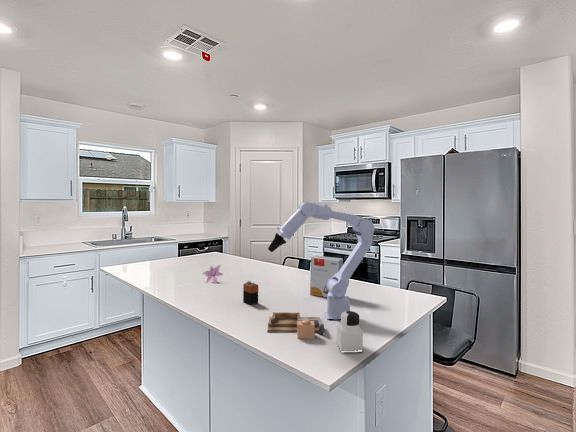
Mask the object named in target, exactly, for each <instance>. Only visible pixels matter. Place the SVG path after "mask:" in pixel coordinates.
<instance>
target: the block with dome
mask: <svg viewBox="0 0 576 432" xmlns="http://www.w3.org/2000/svg"><path fill="white" fill-rule="evenodd" d="M314 330H315V325H314V321H309V320H302V321H297V332H296V335H297V339H298V338H314V339H315V332H314Z"/></svg>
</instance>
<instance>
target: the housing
mask: <svg viewBox="0 0 576 432" xmlns="http://www.w3.org/2000/svg"><path fill="white" fill-rule="evenodd" d="M268 317H269V318H268V323H267V333H297V321H298V319H321V317H319V316H316V317H315V316H301V313H300V312H289V311H288V312H286V311H285V312H283V311H282V312H279V311H278V312H277V311H276V312H275V311H273V312H272V316H268ZM314 325H315V330H314V333H319V324H314Z"/></svg>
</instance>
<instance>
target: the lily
mask: <svg viewBox="0 0 576 432" xmlns="http://www.w3.org/2000/svg"><path fill="white" fill-rule="evenodd" d="M221 266H222V264H219V265H216V266H212V265H210V267H209V270H207V271H203V272H202V275H203V276H206V277H207V278H206V282H205V283H209V282H210V281H212V282H213V283H214V284H217V283H218V277H221V276H223V275H224V274H223V272H220V270H221Z"/></svg>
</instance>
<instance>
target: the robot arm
mask: <svg viewBox="0 0 576 432" xmlns="http://www.w3.org/2000/svg"><path fill="white" fill-rule="evenodd" d="M311 217H312V219H313V218H314V219H318V220H322V221H329V220H330V219H334V220H339V221H343V222H347V224H348V225H349V226H351V228H352V230H353V232H354V233H355V236H356V238H357V243H356V245H355V247H354V248H353V249H352V251H351V252H350V254H349V255H348V258H347V259H346V260H345V262H343V266H342V268H341V269H340V271H339V272H338V273H336V274H335V275H334V276H333V277H332V278H331V279H329V280H328V281H327V283H326V287H327V290H328V291H329V292H328V294H327V297H326V312H324V314H325V317H326V320H328V319H341V313H342V312H345V311H351V301H350V300H351V299H350V297H349V296H348V295H346V294H347V289H348V287H349V284H350V279H351V277H352V276H353V274H354V272H355V271H356V269H357V268H358V267H359V265H360V263H361V262H362V260H363V259H364V257H365V256H366V255H367V253H368V252H369V250H370V248H371V247H372V244H373V239H374V232H375V230H376V229H375V225H374V223H373V222H372V220H370V219H368V218H364V217H362V216H359V215H357V214H356V215H355V214H353V213H352V214H351V213H347V212H341V211H334V210H333V209H332V208H331V207H330V206H328V204H323V205H321V204H318V203H316V202H308V201H307V202H302V203H301V204H299V206H298V209H297V210H296V211H295V212H293V214H292V215H291V216H290V217H289V218H288V219H287V221H285V223H284V224H283V225H282V226H281V227H279V226H278V227H276V229H277V230H278V232H279V233H280V234H279V233H278V232H275V234H274V235H275V236H274V238H273V240H272V242H270V244H269V246H268V248H267V250H268V251H270V253H273V252H275V251H276V250H277V249H278V248H280V247H281V246H282V245H284V244H287V241H286V239H287V240H289V241H290V239H291V238H292V237H293V236H294V235H295V233H296V232H298V230H299V229H300V228H301V227H302V225H304V224H305V222H306V221H307V219H308V218H311ZM285 238H286V239H285Z"/></svg>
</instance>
